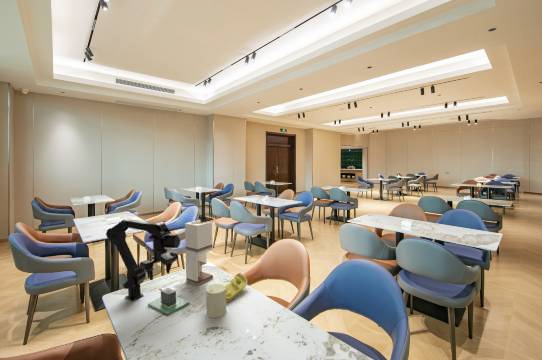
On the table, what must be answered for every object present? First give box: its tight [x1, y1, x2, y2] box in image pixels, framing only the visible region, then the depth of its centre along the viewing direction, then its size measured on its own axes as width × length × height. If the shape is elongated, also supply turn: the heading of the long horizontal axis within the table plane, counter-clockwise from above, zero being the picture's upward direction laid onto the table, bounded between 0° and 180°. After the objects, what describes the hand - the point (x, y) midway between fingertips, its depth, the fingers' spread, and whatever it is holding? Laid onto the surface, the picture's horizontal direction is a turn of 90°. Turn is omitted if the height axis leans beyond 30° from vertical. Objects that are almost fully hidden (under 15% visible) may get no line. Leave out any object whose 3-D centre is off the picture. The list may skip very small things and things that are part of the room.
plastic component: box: [224, 272, 248, 303], centre depth 143 cm, size 20×7×10 cm
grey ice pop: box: [158, 287, 177, 306], centre depth 132 cm, size 10×4×6 cm, turn 57°
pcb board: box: [147, 296, 190, 316], centre depth 131 cm, size 16×12×4 cm
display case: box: [184, 219, 214, 286], centre depth 158 cm, size 11×11×35 cm
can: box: [205, 283, 227, 319], centre depth 123 cm, size 9×9×12 cm
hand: (160, 276), depth 135 cm, fingers open, 9 cm apart
